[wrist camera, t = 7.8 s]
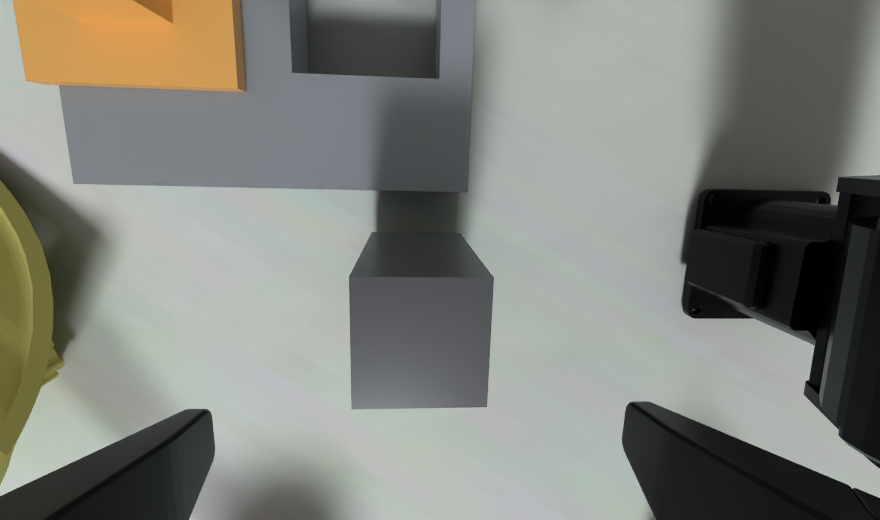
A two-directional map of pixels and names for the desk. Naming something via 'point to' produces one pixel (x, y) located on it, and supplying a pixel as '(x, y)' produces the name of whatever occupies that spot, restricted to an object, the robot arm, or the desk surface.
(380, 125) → the socket board
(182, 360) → the desk surface
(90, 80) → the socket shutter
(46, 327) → the plastic component
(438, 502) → the desk surface
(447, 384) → the grey box
